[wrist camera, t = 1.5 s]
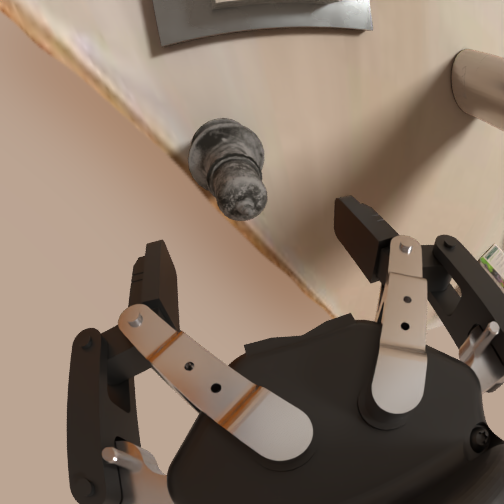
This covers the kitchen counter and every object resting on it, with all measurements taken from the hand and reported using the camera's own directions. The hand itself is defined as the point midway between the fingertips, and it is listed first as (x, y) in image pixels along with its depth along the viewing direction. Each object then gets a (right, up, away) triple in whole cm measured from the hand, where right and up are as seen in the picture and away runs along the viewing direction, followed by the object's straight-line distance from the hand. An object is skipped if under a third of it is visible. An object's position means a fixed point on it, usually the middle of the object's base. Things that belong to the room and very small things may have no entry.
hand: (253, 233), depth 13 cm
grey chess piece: (-3, +8, +11) cm, 14 cm away
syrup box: (+52, -2, +34) cm, 62 cm away
